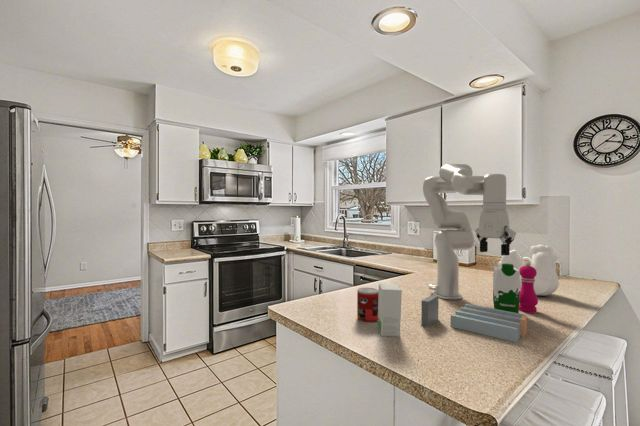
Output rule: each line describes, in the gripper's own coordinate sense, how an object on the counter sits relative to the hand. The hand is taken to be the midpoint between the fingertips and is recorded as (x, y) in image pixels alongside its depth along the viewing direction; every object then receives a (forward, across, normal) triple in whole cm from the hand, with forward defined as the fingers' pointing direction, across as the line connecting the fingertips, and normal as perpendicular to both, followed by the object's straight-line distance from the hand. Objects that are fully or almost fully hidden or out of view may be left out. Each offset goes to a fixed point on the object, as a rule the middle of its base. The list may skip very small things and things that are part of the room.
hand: (494, 253), depth 116 cm
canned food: (+25, -15, -44) cm, 53 cm away
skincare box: (+25, -1, -43) cm, 50 cm away
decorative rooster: (+25, -27, +50) cm, 62 cm away
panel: (+25, -5, -24) cm, 35 cm away
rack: (+25, +4, -6) cm, 26 cm away
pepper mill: (+25, -5, +23) cm, 35 cm away
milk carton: (+25, -5, +12) cm, 28 cm away
